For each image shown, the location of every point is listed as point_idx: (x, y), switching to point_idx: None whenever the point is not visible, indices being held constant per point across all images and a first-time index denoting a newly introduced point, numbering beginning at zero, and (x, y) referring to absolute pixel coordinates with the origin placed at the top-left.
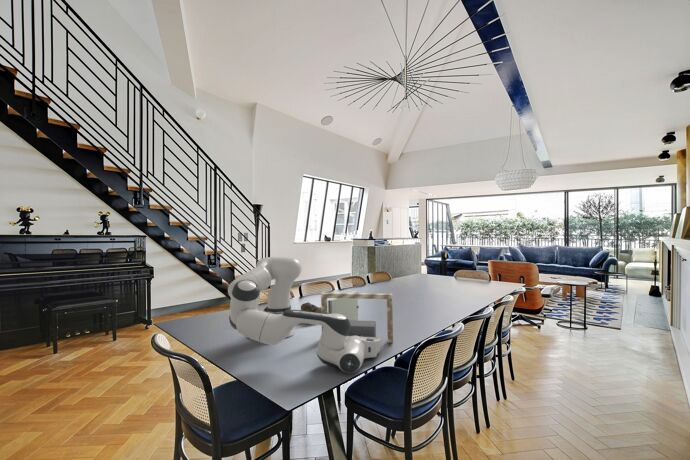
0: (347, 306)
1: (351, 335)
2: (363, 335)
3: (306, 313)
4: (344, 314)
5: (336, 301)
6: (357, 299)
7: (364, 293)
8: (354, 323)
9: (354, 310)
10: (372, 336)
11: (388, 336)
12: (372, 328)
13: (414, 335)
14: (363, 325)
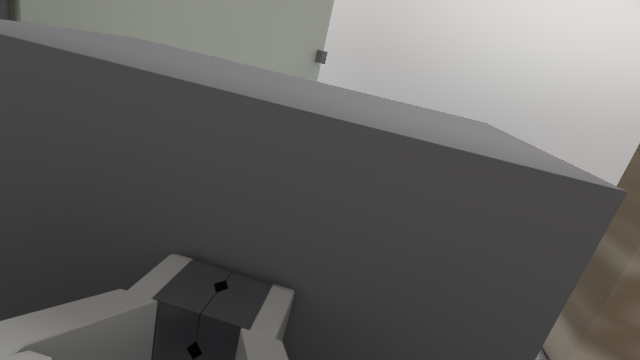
0: (255, 6)
1: (100, 237)
2: (315, 295)
3: None
4: (219, 46)
5: None
6: (329, 16)
7: None
8: (227, 71)
9: (299, 65)
10: (485, 357)
11: (604, 325)
12: (560, 217)
13: None
14: (360, 114)
